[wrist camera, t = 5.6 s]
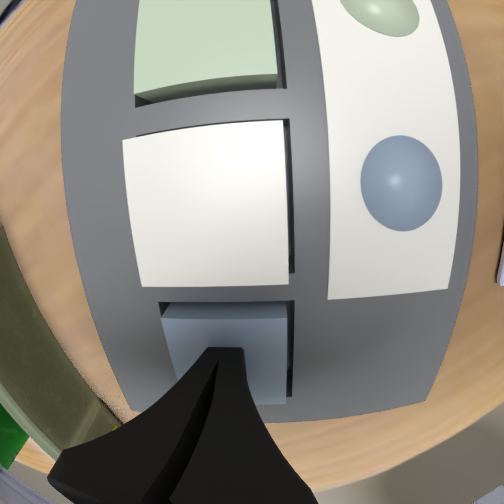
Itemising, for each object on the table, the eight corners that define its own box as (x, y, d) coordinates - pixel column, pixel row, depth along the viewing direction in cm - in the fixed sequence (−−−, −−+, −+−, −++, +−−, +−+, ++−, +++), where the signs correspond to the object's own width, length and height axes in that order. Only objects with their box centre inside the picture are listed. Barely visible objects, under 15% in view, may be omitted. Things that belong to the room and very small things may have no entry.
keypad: (387, -63, 5) (401, -85, 3) (410, 373, 13) (426, 403, 11) (117, -48, 6) (98, -68, 4) (145, 381, 15) (130, 413, 12)
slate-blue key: (284, 291, 11) (287, 318, 9) (284, 373, 12) (285, 404, 10) (176, 293, 11) (160, 317, 9) (193, 372, 13) (184, 401, 11)
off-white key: (279, 130, 8) (282, 120, 6) (284, 260, 10) (289, 284, 8) (150, 143, 9) (122, 140, 7) (163, 264, 10) (142, 286, 8)
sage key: (267, -2, 7) (266, -29, 5) (275, 90, 9) (277, 73, 7) (158, 14, 8) (140, -7, 6) (157, 104, 9) (133, 93, 7)
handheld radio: (113, 435, 18) (-28, 168, 11) (141, 436, 18) (-10, 144, 11) (89, 491, 12) (-92, 182, 5) (119, 498, 11) (-82, 152, 4)
